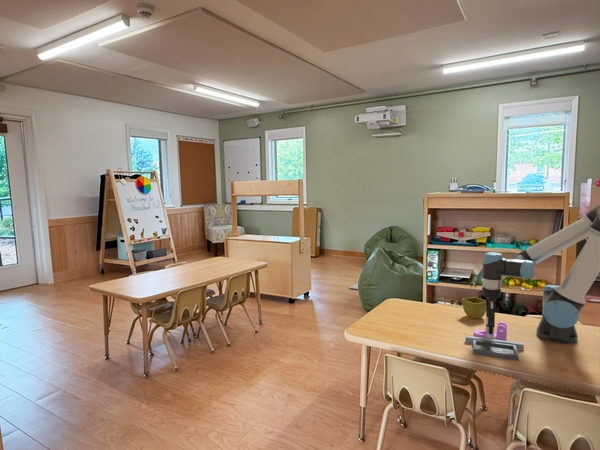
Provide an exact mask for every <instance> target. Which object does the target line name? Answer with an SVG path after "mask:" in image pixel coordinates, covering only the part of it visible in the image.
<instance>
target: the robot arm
mask: <svg viewBox="0 0 600 450" xmlns="http://www.w3.org/2000/svg"><path fill="white" fill-rule="evenodd" d="M587 238H588V239H587ZM585 239H587V240H586V242H585V243H584V246H583V247H582V248H581V250H580V252H579V254H578V255H577V257H576V259H575V261H574V262H573V264H572V266H571V267H570V269H568V270H569V271H568V272H567V274H566V276H565V277H564V279H563V281H562V283H561V284H560V285H556V284H546V285H544V286H543V290H542V293H543V294H542V309H541V310H542V313H541V319H540V321H539V323H538V325H537V327H536V336H538V337H539V338H541V339H543V340H545V341H548V342H552V343H556V344H563V345H565V344H566V345H570V344H571V345H572V344H575V343H578V337H579V336H578V333H577V329H576V326H575V325H576V324H577V323H578V321H579V318H580V313H581V312H582V310H583V308H584V307H585V305H586V303H587V301H586V299H585V296H586V294H587V293H588V291H589V290H590V289H591V287H592V285H593V284H594V282H595V280H596V279H597V277H598V275H599V274H600V203H599V204H598V205H597V206H595V207H593V208H591V210H589V211H587V212H585V213H583V216H582V218H580V219H578V220H576V221H575V222H573V223H571V224H569V225H567V226H565V227H564V228H561V229H560V230H558V231H557V232H554V233H552V234H551V235H549V236H547V237H545V238H544V239H542V240H540V241H538V242H537V243H534V244H533V245H531V246H529V247H526V249H524V250H522V251H519V252H516V253H514V254H513V255H512V256H511V257H510V258H505V257H504V256H503V254H502V253H500V252H494V251H493V252H492V251H490V252H489V251H488V252H486V253H484V254H483V260H482V261H483V262H482V278H481V279H480V282H482V284H481V285H482V288H481V295H482V296H483V297H484V298H485V301H486V307H487V309H486V313H485V315H486V316H485V331H487V338H488V339H494V332H495V327H496V326H495V324H496V321H495V320H496V319H495V317H496V315H495V314H496V306H497V300H496V299H500V298H501V296H502V276H503V277H513V278H521V279H533V278H534V275H535V266H536V265H537V264H539V263H540V262H542V261H544V260H546V259H548V258H550V257H552V256H554V255H555V254H557V253H560V252H561V251H563V250H565V249H567V248H569V247H571V246H573V245H575V244H577V243H578V242H581V241H583V240H585Z"/></svg>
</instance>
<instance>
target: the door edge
mask: <svg viewBox="0 0 600 450" xmlns="http://www.w3.org/2000/svg"><path fill="white" fill-rule="evenodd" d="M473 340H480V341H487V342H495V343H502V344H510V345H516V348H517V351H524V349H525V343H524V342H519V341H509V340H506V341H503V340H496V339H488V338H481V337H477V336H472V335H465V343H467V344H473Z"/></svg>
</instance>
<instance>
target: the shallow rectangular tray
mask: <svg viewBox="0 0 600 450" xmlns="http://www.w3.org/2000/svg"><path fill="white" fill-rule="evenodd" d="M472 350H473V353H472V354H473V355H478V356H484V357H485V356H486V357H490V358H499V359H505V360H510V361H511V360H512V361H517V362H518V361H519V359H520V358H519V357H520V355H519V352H518V351H519V350H517V348H516V345H510V344H502V343H495V342H487V341H480V340H473V343H472Z"/></svg>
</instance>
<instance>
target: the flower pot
mask: <svg viewBox="0 0 600 450" xmlns="http://www.w3.org/2000/svg"><path fill="white" fill-rule="evenodd" d="M461 302H462V308H463V311H464V313H465V315H466V316H467V317H468V318H471V319H474V320H477V319H482V318H483V317H484V315H486V310H487V307H486V299H485V300H484V299H481V298H479V297H477V296H473V297H467V298H466V297H465V298H462V299H461Z"/></svg>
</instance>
